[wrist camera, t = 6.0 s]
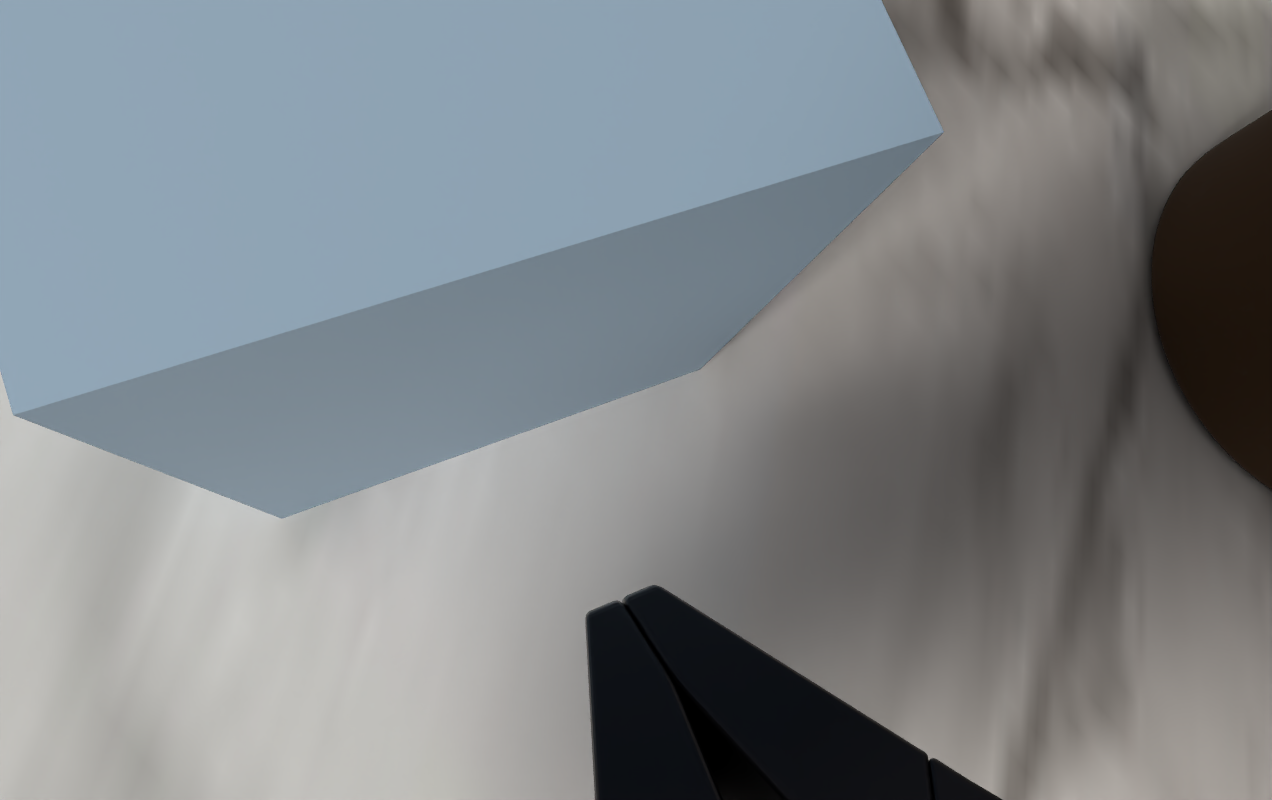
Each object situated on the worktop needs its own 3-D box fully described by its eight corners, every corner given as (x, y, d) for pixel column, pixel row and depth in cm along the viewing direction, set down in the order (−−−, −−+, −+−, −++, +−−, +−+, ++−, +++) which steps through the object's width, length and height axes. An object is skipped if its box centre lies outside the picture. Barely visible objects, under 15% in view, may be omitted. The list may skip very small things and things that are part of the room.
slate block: (699, 370, 17) (943, 132, 8) (283, 518, 15) (12, 414, 6) (536, -24, 18) (597, -598, 9) (131, 64, 16) (-272, -562, 7)
